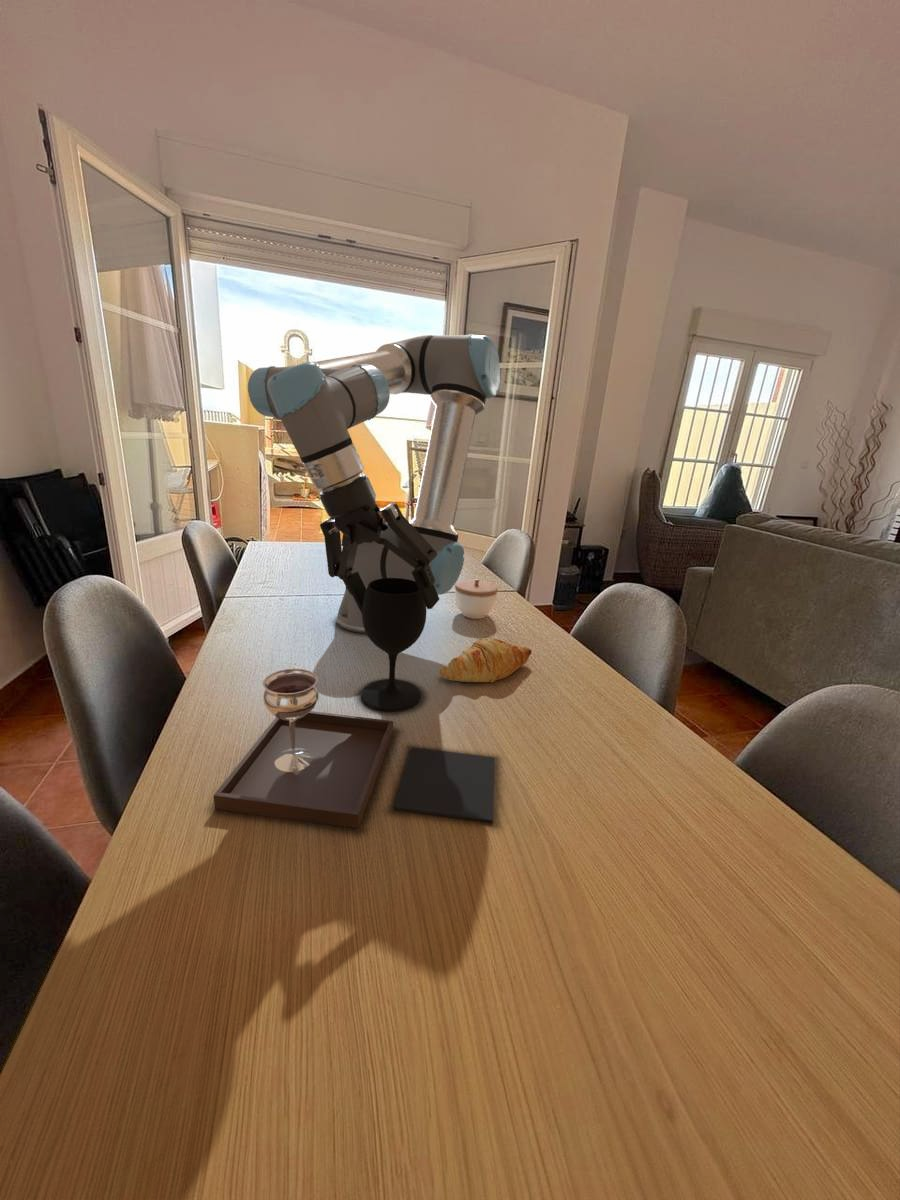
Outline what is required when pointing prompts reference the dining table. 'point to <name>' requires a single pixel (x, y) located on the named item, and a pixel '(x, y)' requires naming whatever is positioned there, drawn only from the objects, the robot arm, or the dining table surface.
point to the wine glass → (392, 637)
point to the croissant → (486, 661)
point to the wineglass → (291, 709)
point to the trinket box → (475, 597)
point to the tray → (311, 770)
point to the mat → (447, 785)
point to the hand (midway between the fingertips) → (399, 606)
